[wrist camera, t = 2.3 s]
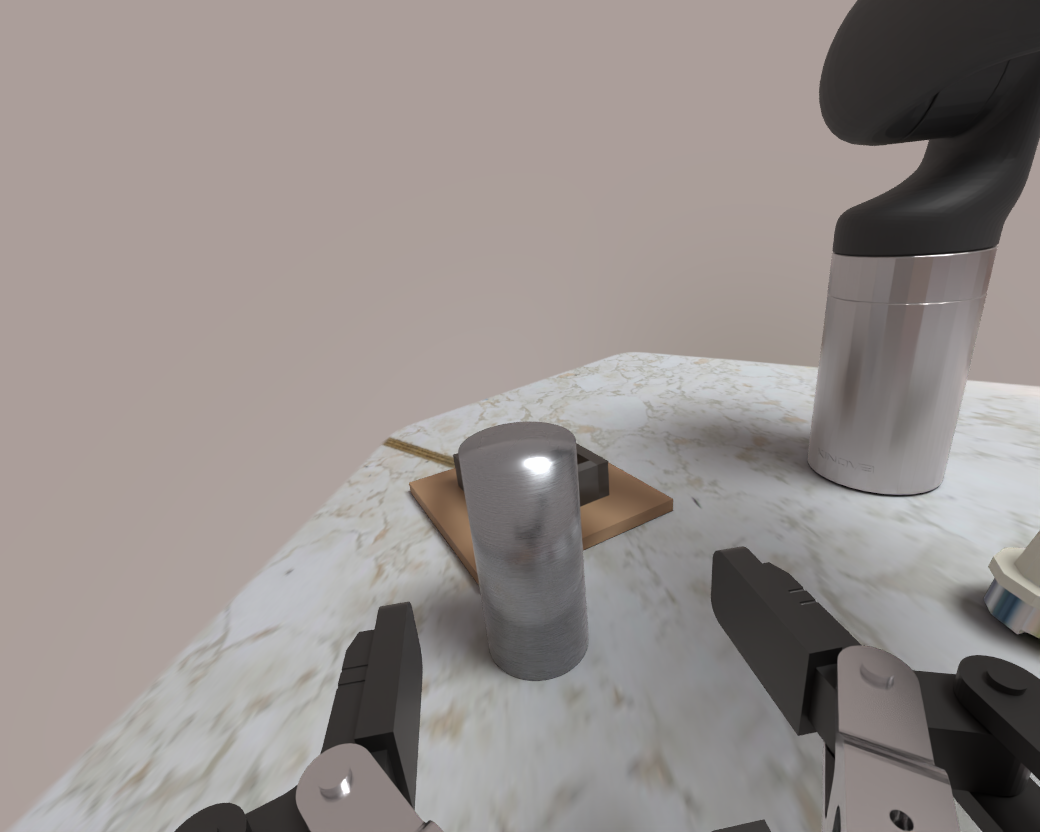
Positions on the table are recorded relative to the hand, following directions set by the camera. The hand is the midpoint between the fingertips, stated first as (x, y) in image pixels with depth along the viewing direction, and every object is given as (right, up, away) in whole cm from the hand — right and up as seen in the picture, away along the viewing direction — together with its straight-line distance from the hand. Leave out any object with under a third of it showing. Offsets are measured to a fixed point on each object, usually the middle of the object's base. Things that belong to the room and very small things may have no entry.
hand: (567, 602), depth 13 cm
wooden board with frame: (0, -2, +29) cm, 29 cm away
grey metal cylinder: (0, -8, +15) cm, 17 cm away
